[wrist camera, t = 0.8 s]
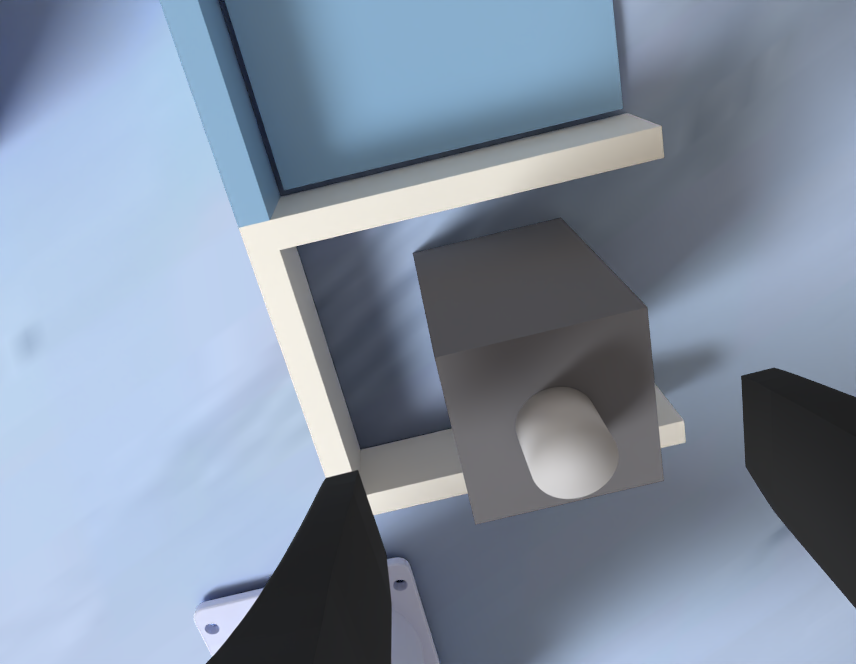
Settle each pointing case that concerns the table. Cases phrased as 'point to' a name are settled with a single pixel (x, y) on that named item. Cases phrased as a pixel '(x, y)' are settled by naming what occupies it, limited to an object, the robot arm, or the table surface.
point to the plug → (540, 369)
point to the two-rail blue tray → (395, 155)
